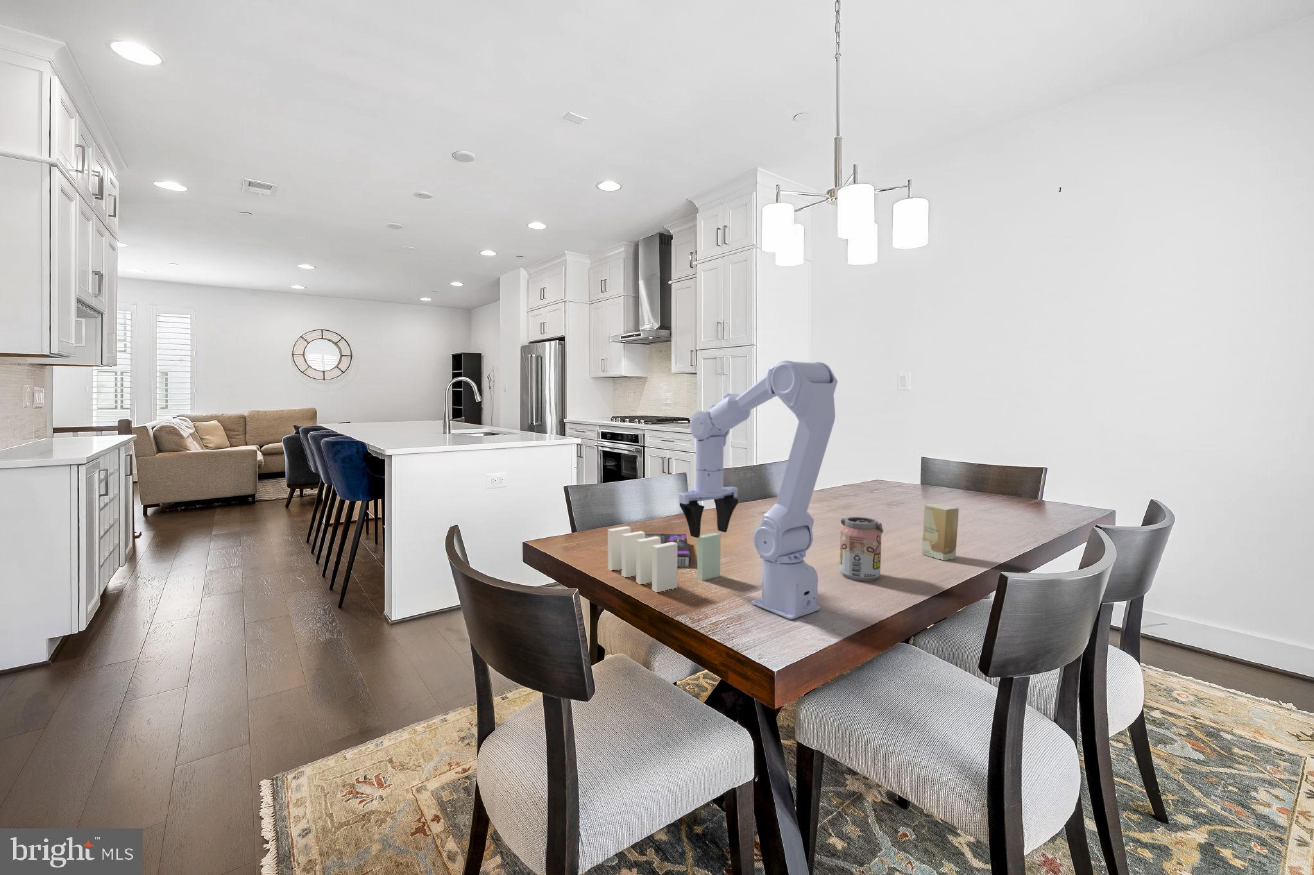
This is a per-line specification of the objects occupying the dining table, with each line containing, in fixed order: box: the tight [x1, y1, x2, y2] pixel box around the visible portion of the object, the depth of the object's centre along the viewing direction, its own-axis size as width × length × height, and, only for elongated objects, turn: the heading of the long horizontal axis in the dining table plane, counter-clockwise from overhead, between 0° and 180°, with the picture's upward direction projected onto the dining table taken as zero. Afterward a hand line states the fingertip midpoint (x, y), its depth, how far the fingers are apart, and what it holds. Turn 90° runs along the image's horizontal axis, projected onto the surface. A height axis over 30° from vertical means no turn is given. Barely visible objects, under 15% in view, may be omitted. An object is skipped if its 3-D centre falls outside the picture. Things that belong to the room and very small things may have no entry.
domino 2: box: [621, 530, 646, 578], centre depth 119 cm, size 2×5×9 cm, turn 126°
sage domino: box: [696, 532, 722, 581], centre depth 117 cm, size 2×5×9 cm, turn 127°
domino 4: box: [651, 542, 678, 593], centre depth 110 cm, size 2×5×9 cm, turn 127°
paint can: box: [839, 516, 884, 582], centre depth 119 cm, size 9×8×12 cm
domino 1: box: [607, 525, 632, 571], centre depth 123 cm, size 2×5×9 cm, turn 126°
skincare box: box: [921, 503, 960, 561], centre depth 132 cm, size 6×4×12 cm
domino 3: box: [635, 536, 661, 585], centre depth 114 cm, size 2×5×9 cm, turn 126°
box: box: [645, 533, 691, 567], centre depth 135 cm, size 14×4×20 cm
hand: (708, 533), depth 117 cm, fingers open, 7 cm apart
